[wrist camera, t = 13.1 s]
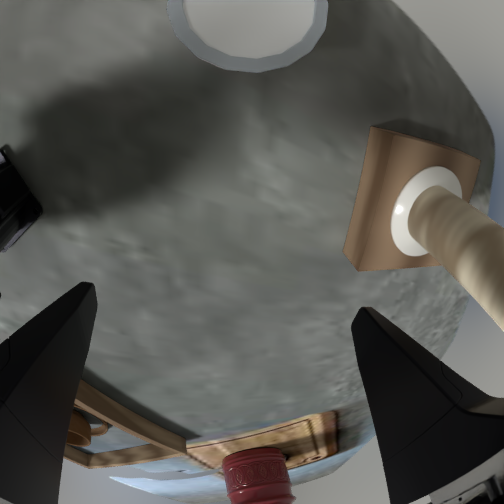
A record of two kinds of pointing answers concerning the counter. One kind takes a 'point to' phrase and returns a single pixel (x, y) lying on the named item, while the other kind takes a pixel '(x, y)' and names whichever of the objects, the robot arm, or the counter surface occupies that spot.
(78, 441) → the place setting
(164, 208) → the counter surface
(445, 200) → the birch pillar
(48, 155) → the counter surface
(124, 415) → the oak tray rim
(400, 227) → the walnut plinth
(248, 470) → the canister
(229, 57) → the white short cylinder
